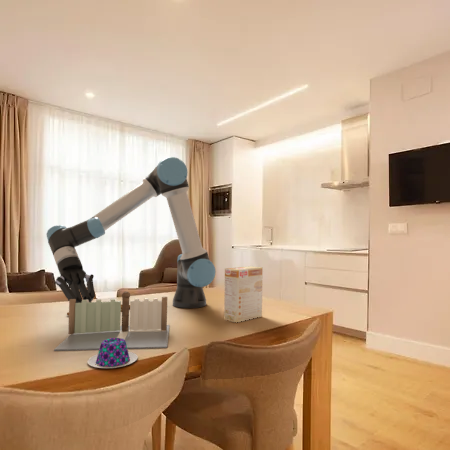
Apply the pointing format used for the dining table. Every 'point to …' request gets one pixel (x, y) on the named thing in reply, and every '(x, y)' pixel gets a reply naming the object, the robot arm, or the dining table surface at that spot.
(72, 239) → the robot arm
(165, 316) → the fixed panel
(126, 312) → the hinge post
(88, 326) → the panel
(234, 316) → the coffeecake box
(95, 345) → the card
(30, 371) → the dining table surface
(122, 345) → the pudding
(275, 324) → the dining table surface
